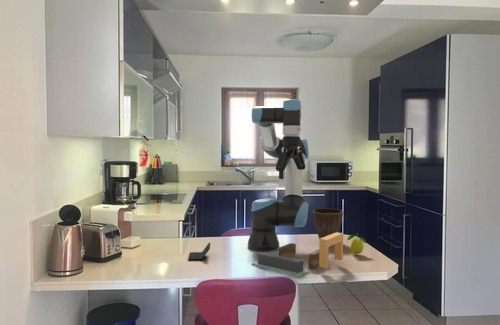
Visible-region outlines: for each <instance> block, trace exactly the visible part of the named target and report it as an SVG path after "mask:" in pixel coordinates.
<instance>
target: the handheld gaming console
mask: <svg viewBox="0 0 500 325" xmlns="http://www.w3.org/2000/svg"><path fill="white" fill-rule="evenodd" d="M210 250H211V242H208V243H207V245H206V246H205V247H204V249H203V250H202V251H198V252H197V251H195V252H193V251H192V252H189V255H188V258H187V261H188V262H189V261H190V262H196V261H197V262H200V261H201V262H202V261H203V258H205V257H206V254H207V253H208V252H209V251H210Z"/></svg>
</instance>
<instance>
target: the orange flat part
mask: <svg viewBox="0 0 500 325" xmlns="http://www.w3.org/2000/svg"><path fill="white" fill-rule="evenodd" d="M332 246H334V248H333V250H334V255H333V256H334V258H333V259H334V260H337V261H342V260H344V256H343V255H344V251H343V250H344V233H343V232H339V233H338V232H336V233H333V234H331V235H328V236H326V237H323V238H320V239H319V249H320V250H319V267H318V268H324V269H327V268H329V247H332Z"/></svg>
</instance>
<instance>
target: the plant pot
mask: <svg viewBox="0 0 500 325" xmlns="http://www.w3.org/2000/svg"><path fill="white" fill-rule="evenodd" d="M312 214H313V221H314V226H315V230H316V233H317V236H318V240H320V238H323V237H326V236H328V235H331V234H333V233H336V232H338V233H340V229H341V226H342V220H343V214H344V211H343V210H341V209H335V208H315V209H313V210H312Z"/></svg>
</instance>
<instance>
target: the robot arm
mask: <svg viewBox="0 0 500 325" xmlns="http://www.w3.org/2000/svg"><path fill="white" fill-rule="evenodd" d="M301 104H302V102H301V100H300V99H297V98H296V99H295V98H292V99H289V98H287V99H284V100H283V102H282V106H261V105H259V106H254V107H252V109H251V122H252V123H253V124H258V128H259V133H260V138H261V140H260V146H261V148H262V150H263V151H264V152H265V153H266V155H268V156H269V157H272V158H275V159H277V162H276V165H275V171H276V172H278V180H279V181H278V187H279V188H284V196H282V197H281V199H280V200H281V201H277V199H276V198H275V197H274V198H273V197H267V198H259V199H256V200H254V201H253V202H252V203H251V209H250V211H251V231H250V235H249V238H248V241H247V249H249V250H252V251H257V252H271V251H272V252H273V251H276V250H278V248H279V247H280V241H279V238H278V234H277V229H276V228H277V227H291V228H294V227H295V228H297V227H298V228H301V227H302V228H303V227H305V226H306V224H307V221H308V220H307V219H308V212H309V203H308V202H306V199H305V197H303V180H304V179H303V178H304V177H303V176H304V175H303V172H304V170H306V160H309V155H310V154H309V152H310V151H309V145H308V140H307V138H306V137H301V130H302V128H301V120H302V119H301V118H302V105H301ZM275 124H282V135H283V137H281V136H277V134H276V133H277V132H276V127H275Z"/></svg>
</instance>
